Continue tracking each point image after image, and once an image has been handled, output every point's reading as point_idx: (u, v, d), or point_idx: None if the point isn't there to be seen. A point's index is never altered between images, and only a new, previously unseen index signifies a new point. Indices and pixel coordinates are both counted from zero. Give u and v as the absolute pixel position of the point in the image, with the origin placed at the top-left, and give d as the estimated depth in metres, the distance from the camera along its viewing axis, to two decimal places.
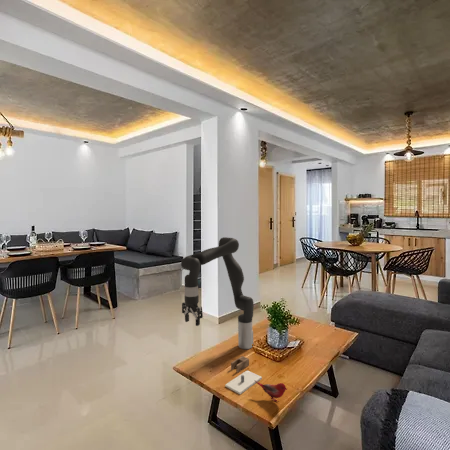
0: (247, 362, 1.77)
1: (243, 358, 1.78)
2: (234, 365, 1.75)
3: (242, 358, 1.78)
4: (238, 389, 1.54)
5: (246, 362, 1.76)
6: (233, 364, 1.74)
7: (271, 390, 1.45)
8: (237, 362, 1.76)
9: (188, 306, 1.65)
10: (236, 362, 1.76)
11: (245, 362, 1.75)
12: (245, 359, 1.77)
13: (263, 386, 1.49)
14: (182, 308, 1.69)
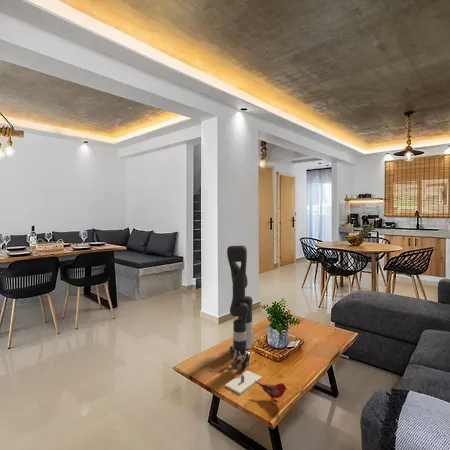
0: (247, 362, 1.77)
1: None
2: (234, 365, 1.75)
3: None
4: (238, 389, 1.54)
5: None
6: (233, 364, 1.74)
7: (271, 390, 1.45)
8: (237, 362, 1.76)
9: (236, 349, 1.75)
10: (236, 362, 1.76)
11: None
12: None
13: (263, 386, 1.49)
14: (231, 352, 1.78)
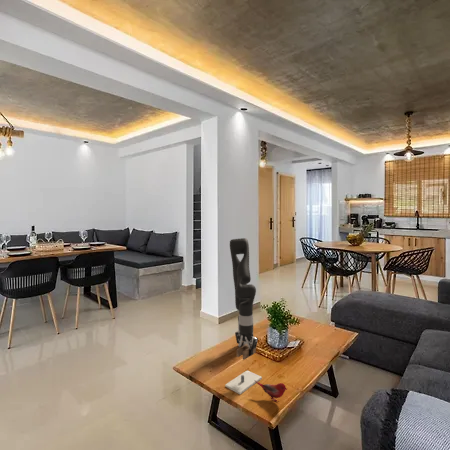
0: (254, 349, 1.63)
1: (250, 344, 1.64)
2: (240, 352, 1.60)
3: None
4: (238, 389, 1.54)
5: (253, 349, 1.62)
6: (239, 351, 1.60)
7: (271, 390, 1.45)
8: (243, 349, 1.62)
9: (242, 334, 1.61)
10: (242, 349, 1.62)
11: None
12: None
13: (263, 386, 1.49)
14: (236, 338, 1.64)
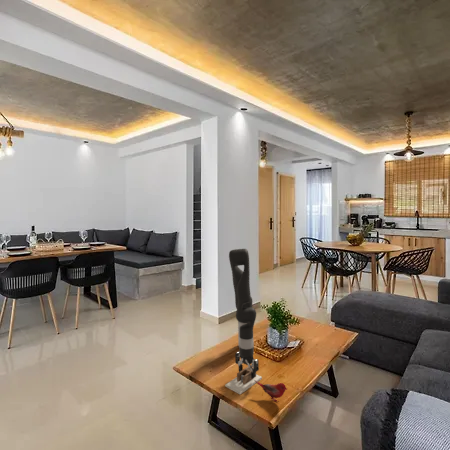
0: None
1: None
2: (240, 376, 1.61)
3: (249, 368, 1.65)
4: (238, 389, 1.54)
5: None
6: (239, 375, 1.61)
7: (271, 390, 1.45)
8: (243, 373, 1.63)
9: (243, 357, 1.62)
10: (242, 373, 1.63)
11: None
12: None
13: (263, 386, 1.49)
14: (235, 358, 1.66)
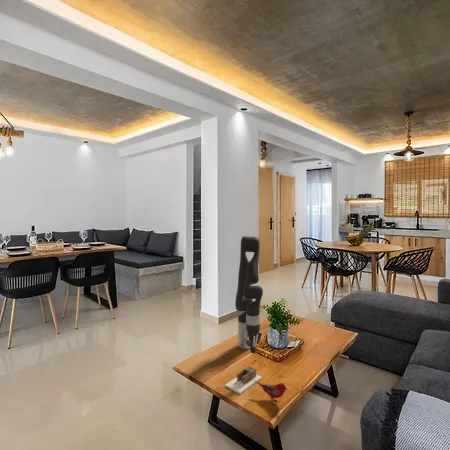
0: (254, 373, 1.64)
1: (250, 368, 1.65)
2: (240, 376, 1.61)
3: (249, 368, 1.65)
4: (238, 389, 1.54)
5: (253, 373, 1.63)
6: (239, 375, 1.61)
7: (271, 390, 1.45)
8: (243, 373, 1.63)
9: None
10: (242, 373, 1.63)
11: (252, 373, 1.62)
12: (252, 369, 1.64)
13: (263, 386, 1.49)
14: None
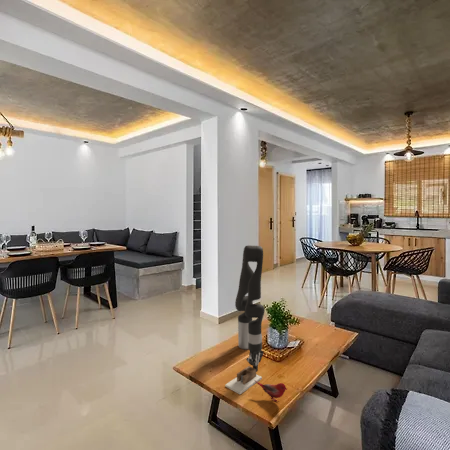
0: (254, 373, 1.64)
1: (250, 368, 1.65)
2: (240, 376, 1.61)
3: (249, 368, 1.65)
4: (238, 389, 1.54)
5: (253, 373, 1.63)
6: (239, 375, 1.61)
7: (271, 390, 1.45)
8: (243, 373, 1.63)
9: None
10: (242, 373, 1.63)
11: (252, 373, 1.62)
12: (252, 370, 1.64)
13: (263, 386, 1.49)
14: None
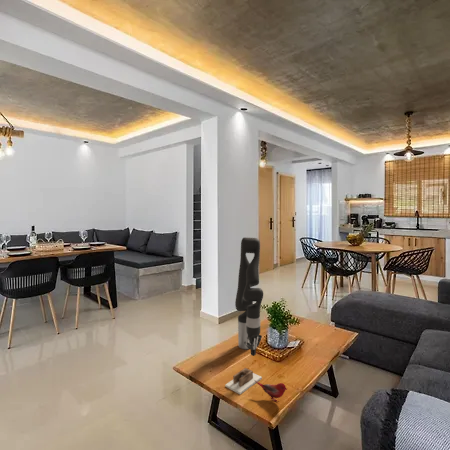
0: (251, 375, 1.62)
1: (247, 370, 1.63)
2: (237, 378, 1.60)
3: (245, 370, 1.63)
4: (238, 389, 1.54)
5: (250, 375, 1.61)
6: (236, 377, 1.59)
7: (271, 390, 1.45)
8: (240, 375, 1.61)
9: None
10: (239, 375, 1.61)
11: (249, 375, 1.61)
12: (249, 371, 1.62)
13: (263, 386, 1.49)
14: None
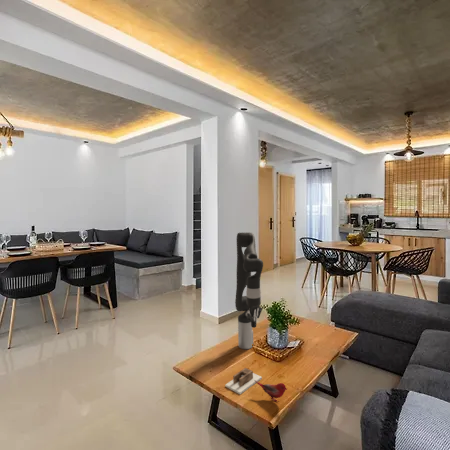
0: (251, 375, 1.62)
1: (247, 370, 1.63)
2: (237, 378, 1.60)
3: (245, 370, 1.63)
4: (238, 389, 1.54)
5: (250, 375, 1.61)
6: (236, 377, 1.59)
7: (271, 390, 1.45)
8: (240, 375, 1.61)
9: None
10: (239, 375, 1.61)
11: (249, 375, 1.61)
12: (249, 371, 1.62)
13: (263, 386, 1.49)
14: None
